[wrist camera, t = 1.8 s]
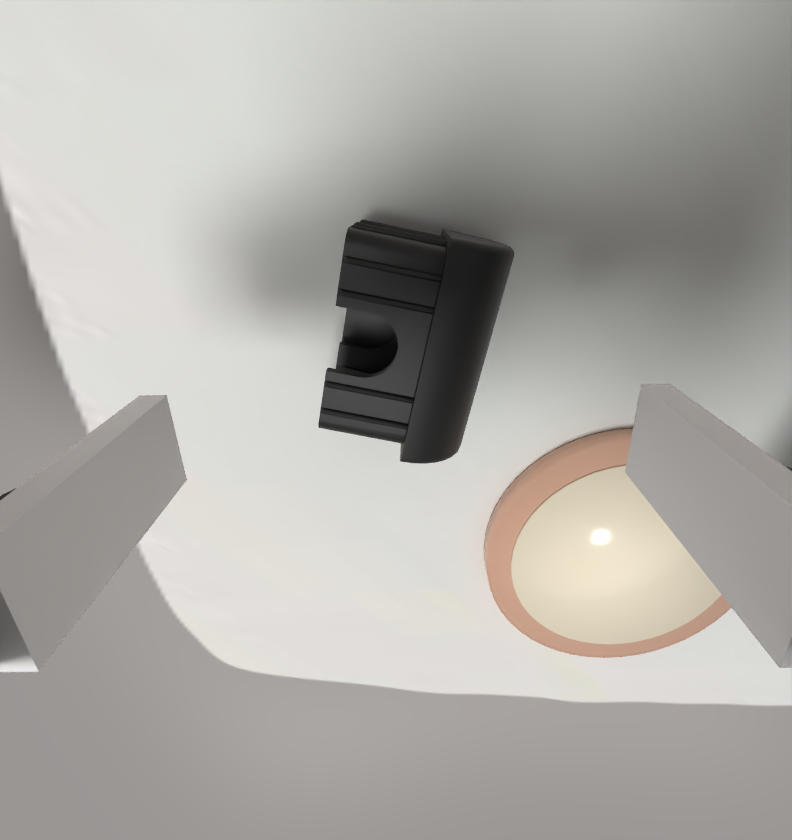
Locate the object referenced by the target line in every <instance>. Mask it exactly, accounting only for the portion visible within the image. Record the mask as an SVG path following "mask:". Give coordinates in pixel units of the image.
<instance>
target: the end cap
mask: <svg viewBox="0 0 792 840" xmlns="http://www.w3.org/2000/svg"><path fill="white" fill-rule="evenodd" d="M513 257H514V251H513V249H512V248H511V247H509V246H507V245H504V244H501V243H498V242H495V241H491V240H487V239H483V238H479V237H475V236H471V235H467V234H462V233H458V232H454V231H449V230H444V229H443V230H442V234H441V236H438V235H433V234H428V233H424V232H419V231H414V230H409V229H405V228H400V227H395V226H391V225H386V224H381V223H376V222H372V221H367V220H361V221H360V222H357V223H355V224H354V225H352V226H351V227H349V228H348V230H347V234H346V239H345V245H344V252H343V258H342V265H341V272H340V279H339V286H338V293H337V300H336V306H340V307H345V308H347V312H346V318H345V325H344V331H343V338H342V342H340V345H339V352H338V358H337V365H336V369H332V368H327V370H326V376H325V383H324V390H323V397H322V404H321V411H320V418H319V428H324V429H329V430H334V431H340V432H345V433H350V434H355V435H361V436H366V437H371V438H377V439H382V440H387V441H393V442H398V443H401V455H400V461H402V462H409V463H435V462H439V461H443V460H446V459H448V458H450V457H452V456H453V455H454V454H455V453H457V451H458V449H459V447H460V445H461V442H462V438H463V435H464V431H465V428H466V424H467V420H468V417H469V413H470V410H471V406H472V403H473V399H474V395H475V392H476V388H477V385H478V381H479V378H480V374H481V371H482V367H483V363H484V360H485V356H486V353H487V349H488V346H489V342H490V339H491V335H492V331H493V328H494V324H495V321H496V317H497V314H498V310H499V306H500V303H501V299H502V296H503V292H504V289H505V285H506V282H507V278H508V274H509V271H510V267H511V264H512V260H513Z"/></svg>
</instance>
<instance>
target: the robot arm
mask: <svg viewBox="0 0 792 840" xmlns="http://www.w3.org/2000/svg"><path fill="white" fill-rule="evenodd" d="M625 473H626V474H627V476H628V477H629V478H630V479H631V481H632V482H633V483H634V484H635V486H636V487H637V488H638V489H639V491H640V492H641V493H642V494H643V496H644V497H645V498H646V500H647V501H648V502H649V503H650V505H651V506H652V507H653V508H654V510H655V511H656V512H657V513H658V515H659V516H660V517H661V519H662V520H663V521H664V522H665V524H666V525H667V526H668V527H669V529H670V530H671V531H672V532H673V534H674V535H675V536H676V537H677V539H678V540H679V541H680V543H681V544H682V545H683V546H684V548H685V549H686V550H687V551H688V553H689V554H690V555H691V556H692V558H693V559H694V560H695V562H696V563H697V564H698V565H699V567H700V568H701V569H702V570H703V572H704V573H705V574H706V575H707V577H708V578H709V579H710V580H711V582H712V583H713V584H714V586H715V587H716V588H717V589H718V591H719V592H720V593H721V594H722V596H723V597H724V598H725V599H726V601H727V602H728V603H729V605H730V606H731V607H732V608H733V610H734V611H735V612H736V613H737V615H738V616H739V617H740V618H741V620H742V621H743V622H744V623H745V625H746V626H747V627H748V629H749V630H750V631H751V632H752V634H753V635H754V636H755V637H756V639H757V640H758V641H759V642H760V644H761V645H762V646H763V648H764V649H765V650H766V651H767V653H768V654H769V655H770V656H771V658H772V659H773V660H774V661H775V663H776V664H777V665H778V666H779V668H787V667H792V469H791V468H789V467H785V466H784V465H782V464H781V463H780V462H778V461H777V460H775V459H774V458H773V457H771V456H770V455H768V454H767V453H766V452H764V451H763V450H761V449H760V448H759V447H757V446H756V445H754V444H753V443H752V442H750V441H749V440H747V439H746V438H745V437H743V436H742V435H740V434H739V433H738V432H736V431H735V430H733V429H732V428H731V427H729V426H728V425H726V424H725V423H724V422H722V421H721V420H719V419H718V418H717V417H715V416H714V415H712V414H711V413H710V412H708V411H707V410H705V409H704V408H703V407H701V406H700V405H698V404H697V403H696V402H694V401H693V400H691V399H690V398H689V397H687V396H686V395H684V394H683V393H682V392H680V391H679V390H677V389H676V388H675V387H673V386H672V385H670V384H644V385H641V388H640V393H639V399H638V404H637V410H636V415H635V420H634V426H633V431H632V437H631V442H630V447H629V453H628V458H627V464H626V469H625ZM186 480H187V479H186V475H185V471H184V467H183V462H182V458H181V454H180V450H179V446H178V441H177V437H176V433H175V429H174V425H173V421H172V416H171V412H170V408H169V404H168V400H167V395H153V396H139V397H137V398H136V399H135V400H133V401H132V402H131V403H129V404H128V405H127V406H125V407H124V408H123V409H121V410H120V411H119V412H117V413H116V414H115V415H113V416H112V417H111V418H109V419H108V420H107V421H105V422H104V423H103V424H101V425H100V426H99V427H97V428H96V429H95V430H93V431H92V432H91V433H89V434H88V435H87V436H85V437H84V438H83V439H81V440H80V441H79V442H78V443H76V444H75V445H73V446H72V447H71V448H70V449H68V450H67V451H66V452H64V453H63V454H62V455H60V456H59V457H58V458H56V459H55V460H54V461H52V462H51V463H50V464H48V465H47V466H46V467H44V468H43V469H42V470H40V471H39V472H38V473H36V474H35V475H34V476H32V477H31V478H30V479H28V480H27V481H26V482H24V483H23V484H22V485H20V486H19V487H18V488H16V489H14V490H12V491H10V492H7V493H5V494H3V495H2V496H0V672H39V671H40V669H41V668H42V667H43V665H44V664H45V663H46V662H47V660H48V659H49V658H50V656H51V655H52V654H53V653H54V651H55V650H56V649H57V647H58V646H59V645H60V643H61V642H62V641H63V639H64V638H65V637H66V636H67V634H68V633H69V632H70V630H71V629H72V628H73V626H74V625H75V624H76V623H77V621H78V620H79V619H80V617H81V616H82V615H83V614H84V612H85V611H86V610H87V608H88V607H89V606H90V605H91V603H92V602H93V601H94V599H95V598H96V597H97V595H98V594H99V593H100V592H101V590H102V589H103V588H104V586H105V585H106V584H107V582H108V581H109V580H110V579H111V577H112V576H113V575H114V573H115V572H116V571H117V570H118V568H119V567H120V566H121V564H122V563H123V562H124V560H125V559H126V558H127V557H128V555H129V554H130V553H131V551H132V550H133V548H134V547H135V546H136V545H137V544H138V542H139V541H140V540H141V538H142V537H143V536H144V534H145V533H146V532H147V531H148V529H149V528H150V527H151V525H152V524H153V523H154V522H155V520H156V519H157V518H158V516H159V515H160V514H161V512H162V511H163V510H164V509H165V507H166V506H167V505H168V503H169V502H170V501H171V499H172V498H173V497H174V496H175V494H176V493H177V492H178V490H179V489H180V488H181V487H182V485H183V484H184V483H185V481H186Z"/></svg>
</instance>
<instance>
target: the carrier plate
mask: <svg viewBox="0 0 792 840" xmlns="http://www.w3.org/2000/svg"><path fill="white" fill-rule="evenodd" d="M632 431H633V428H631V429H617V430H612V431H606V432H601V433H596V434H593V435H590V436H586V437H583V438H580V439H577V440H575V441H572V442H570V443H568V444H565V445H563V446H560V447H559V448H557V449H555V450H553V451H552V452H550V453H548V454H546V455H544V456H543V457H542V458H540V459H539V460H537V461H536V462H535V463H533V464H532V465H531V466H529V467H528V468H527V469H526V470H525V471H524V472H523V473H521V474H520V475H519V476H518V477H517V478H516V479H515V480H514V481H513V483H512V484H511V485H510V486H509V487H508V489H507V490H506V491H505V492H504V494H503V495H502V497H501V498H500V500H499V502H498V503H497V505H496V507H495V509H494V511H493V513H492V515H491V517H490V520H489V523H488V527H487V530H486V535H485V542H484V560H485V565H486V570H487V575H488V580H489V585H490V589H491V592H492V594H493V597H494V600H495V602H496V603H497V605H498V607H499V609H500V610H501V612H502V613H503V614H504V616H505V617H506V618H507V619H508V620H509V622H510V623H511V624H513V625H514V626H515V627H516V628H517V629H518V630H519V631H520V632H522V633H523V634H525V635H526V636H528V637H529V638H531V639H532V640H534V641H536V642H538V643H540V644H542V645H544V646H547V647H549V648H552V649H555V650H557V651H561V652H565V653H569V654H573V655H580V656H586V657H603V658H606V657H623V656H631V655H638V654H642V653H647V652H651V651H655V650H658V649H661V648H664V647H668V646H670V645H673V644H675V643H678V642H680V641H682V640H685V639H687V638H689V637H690V636H692V635H694V634H696V633H698V632H700V631H701V630H703V629H704V628H706V627H708V626H709V625H711V624H712V623H714V622H715V621H716V620H717V619H719V618H720V617H721V616H722V615H724V614H725V613H726V612H727V611H728V610H729V609H730V608H731V606H730V605H729V603H728V602H727V601H726V599H725V598H724V597H723V596H722V594H721V593H720V592H719V591H718V589H717V588H716V587H715V586H714V584H713V583H712V582H711V580H710V579H709V578H708V577H707V575H706V574H705V573H704V572H703V570H702V569H701V568H700V567H699V565H698V564H697V563H696V562H695V560H694V559H693V558H692V556H691V555H690V554H689V553H688V551H687V550H686V549H685V548H684V546H683V545H682V544H681V543H680V541H679V540H678V539H677V537H676V536H675V535H674V534H673V532H672V531H671V530H670V529H669V527H668V526H667V525H666V524H665V522H664V521H663V520H662V519H661V517H660V516H659V515H658V513H657V512H656V511H655V510H654V508H653V507H652V506H651V505H650V503H649V502H648V501H647V500H646V498H645V497H644V496H643V494H642V493H641V492H640V491H639V489H638V488H637V487H636V486H635V484H634V483H633V482H632V481H631V479H630V478H629V477H628V476H627V474H626V473H625V469H626V464H627V458H628V453H629V447H630V442H631V437H632Z"/></svg>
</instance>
